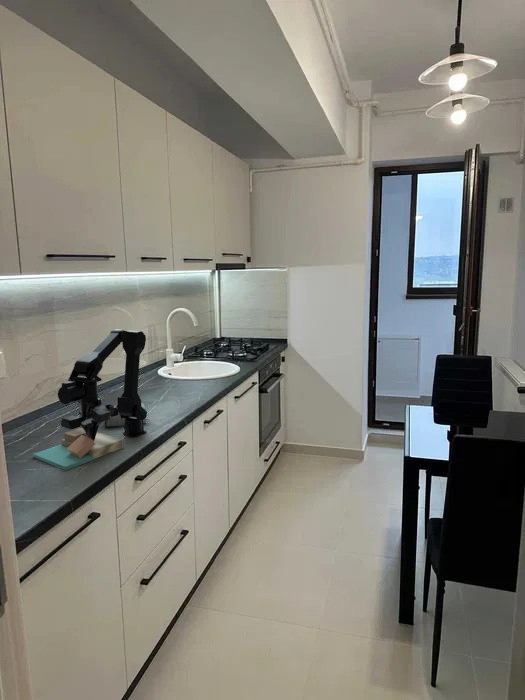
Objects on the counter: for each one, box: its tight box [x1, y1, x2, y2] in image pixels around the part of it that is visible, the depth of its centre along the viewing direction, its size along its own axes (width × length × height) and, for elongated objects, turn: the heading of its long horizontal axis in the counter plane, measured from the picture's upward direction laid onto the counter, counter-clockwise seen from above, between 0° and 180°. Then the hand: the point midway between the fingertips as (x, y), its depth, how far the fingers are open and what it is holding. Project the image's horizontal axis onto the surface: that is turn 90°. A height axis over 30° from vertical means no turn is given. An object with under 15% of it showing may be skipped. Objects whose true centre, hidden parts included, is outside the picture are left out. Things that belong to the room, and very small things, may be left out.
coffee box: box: [104, 402, 147, 428], centre depth 193 cm, size 9×6×16 cm
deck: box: [61, 431, 124, 460], centre depth 166 cm, size 12×18×3 cm, turn 54°
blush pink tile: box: [67, 435, 95, 458], centre depth 157 cm, size 6×6×2 cm
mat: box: [32, 444, 94, 471], centre depth 157 cm, size 10×19×1 cm, turn 54°
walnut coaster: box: [63, 427, 89, 442], centre depth 167 cm, size 6×6×2 cm
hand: (92, 440), depth 160 cm, fingers closed
